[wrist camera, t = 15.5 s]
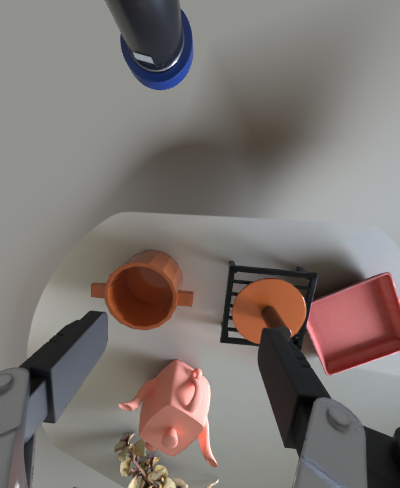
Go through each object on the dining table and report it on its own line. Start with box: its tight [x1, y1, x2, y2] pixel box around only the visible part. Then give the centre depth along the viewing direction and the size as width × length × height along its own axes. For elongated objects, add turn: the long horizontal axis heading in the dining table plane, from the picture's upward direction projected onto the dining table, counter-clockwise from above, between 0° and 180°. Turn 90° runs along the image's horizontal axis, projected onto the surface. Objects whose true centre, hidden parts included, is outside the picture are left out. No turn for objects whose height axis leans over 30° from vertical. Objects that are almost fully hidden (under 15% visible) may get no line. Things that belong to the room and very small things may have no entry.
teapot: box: [119, 360, 217, 467], centre depth 41 cm, size 15×17×13 cm
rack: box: [220, 261, 318, 350], centre depth 39 cm, size 16×16×5 cm
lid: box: [232, 278, 306, 344], centre depth 33 cm, size 13×13×7 cm
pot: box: [91, 250, 194, 330], centre depth 37 cm, size 12×18×8 cm
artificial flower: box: [114, 433, 218, 488], centre depth 49 cm, size 10×14×30 cm
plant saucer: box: [306, 272, 400, 376], centre depth 41 cm, size 18×18×3 cm
